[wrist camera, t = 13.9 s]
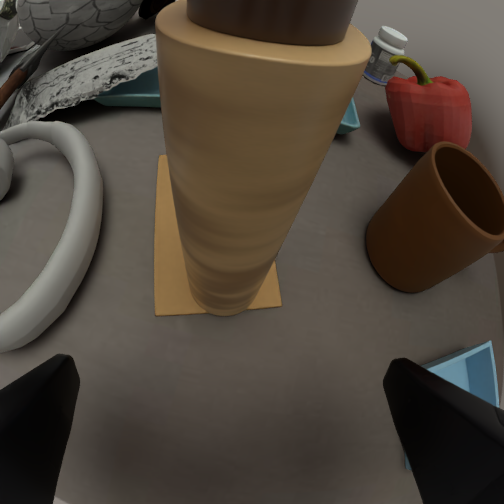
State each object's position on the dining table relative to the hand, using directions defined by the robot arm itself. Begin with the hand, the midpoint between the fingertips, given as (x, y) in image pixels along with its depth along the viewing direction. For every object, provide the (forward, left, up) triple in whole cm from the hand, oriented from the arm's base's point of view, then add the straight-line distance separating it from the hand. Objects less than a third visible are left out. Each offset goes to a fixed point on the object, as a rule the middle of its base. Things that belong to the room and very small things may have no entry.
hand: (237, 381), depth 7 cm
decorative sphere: (+45, +18, -10) cm, 50 cm away
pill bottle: (+35, -24, -11) cm, 44 cm away
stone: (+33, +14, -7) cm, 36 cm away
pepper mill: (+6, -1, -10) cm, 12 cm away
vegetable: (+18, -22, -9) cm, 30 cm away
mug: (+7, -17, -11) cm, 21 cm away
